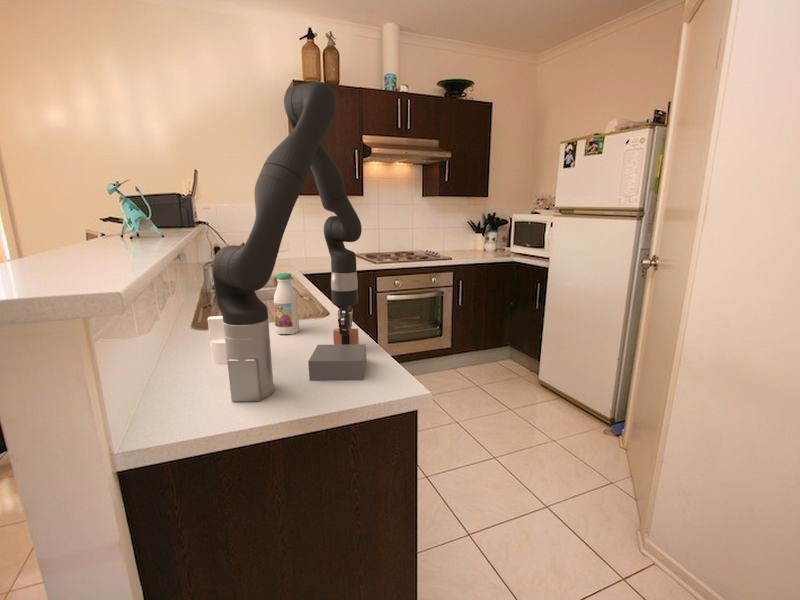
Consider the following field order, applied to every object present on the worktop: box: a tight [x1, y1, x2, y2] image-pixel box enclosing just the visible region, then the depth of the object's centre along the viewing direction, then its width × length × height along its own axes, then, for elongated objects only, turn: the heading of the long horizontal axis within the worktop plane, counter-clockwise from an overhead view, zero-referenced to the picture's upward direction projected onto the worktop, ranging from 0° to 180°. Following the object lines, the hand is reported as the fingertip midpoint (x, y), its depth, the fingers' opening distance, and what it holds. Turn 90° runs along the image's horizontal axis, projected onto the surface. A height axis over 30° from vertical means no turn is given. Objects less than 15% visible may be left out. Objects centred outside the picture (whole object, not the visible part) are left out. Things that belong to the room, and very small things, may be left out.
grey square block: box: [307, 343, 367, 381], centre depth 105 cm, size 13×13×5 cm
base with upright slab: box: [207, 315, 228, 365], centre depth 112 cm, size 9×9×12 cm
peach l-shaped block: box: [332, 328, 360, 345], centre depth 110 cm, size 20×8×6 cm, turn 1°
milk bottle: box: [273, 272, 300, 335], centre depth 135 cm, size 8×8×20 cm
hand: (346, 344), depth 120 cm, fingers closed on peach l-shaped block, 2 cm apart
